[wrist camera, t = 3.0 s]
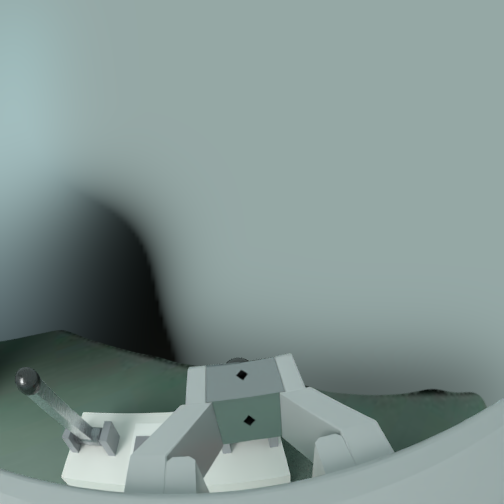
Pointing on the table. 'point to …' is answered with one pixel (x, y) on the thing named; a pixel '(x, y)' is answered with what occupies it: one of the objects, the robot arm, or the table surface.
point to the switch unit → (140, 429)
